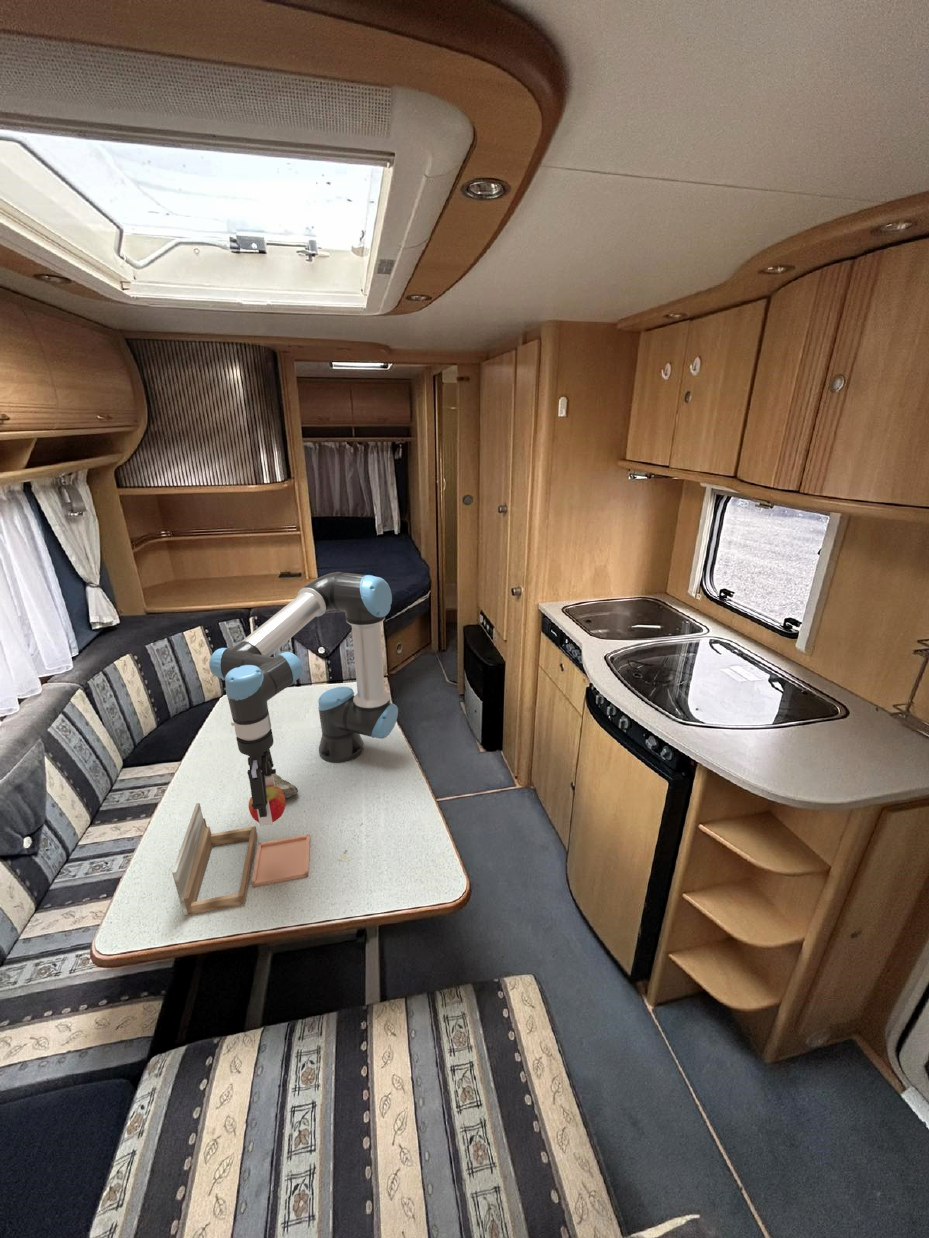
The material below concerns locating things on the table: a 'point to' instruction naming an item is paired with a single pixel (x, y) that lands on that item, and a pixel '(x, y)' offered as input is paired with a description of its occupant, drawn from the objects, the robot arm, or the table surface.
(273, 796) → the apple
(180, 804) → the table surface
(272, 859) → the dish
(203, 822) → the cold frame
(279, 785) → the rock
